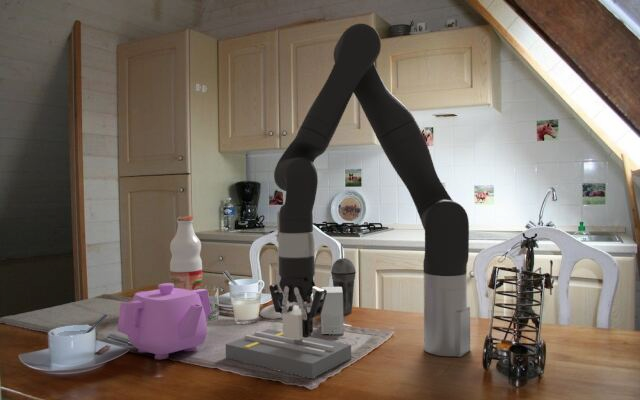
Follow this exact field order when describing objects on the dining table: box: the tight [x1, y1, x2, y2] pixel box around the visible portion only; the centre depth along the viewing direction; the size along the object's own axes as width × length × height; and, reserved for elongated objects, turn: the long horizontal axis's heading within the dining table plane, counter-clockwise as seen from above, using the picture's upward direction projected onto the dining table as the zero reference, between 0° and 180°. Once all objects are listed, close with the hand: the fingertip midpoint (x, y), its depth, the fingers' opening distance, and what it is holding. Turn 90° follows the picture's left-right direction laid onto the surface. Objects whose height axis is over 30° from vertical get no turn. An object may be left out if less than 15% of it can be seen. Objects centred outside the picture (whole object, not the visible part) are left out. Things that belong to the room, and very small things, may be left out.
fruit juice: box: [169, 215, 203, 291], centre depth 159 cm, size 9×9×28 cm
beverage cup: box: [330, 243, 357, 315], centre depth 153 cm, size 7×7×20 cm
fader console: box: [225, 328, 352, 379], centre depth 113 cm, size 23×14×4 cm, turn 55°
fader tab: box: [282, 309, 314, 346], centre depth 111 cm, size 4×5×7 cm
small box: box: [320, 286, 345, 336], centre depth 134 cm, size 8×6×10 cm
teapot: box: [116, 282, 212, 360], centre depth 120 cm, size 19×18×15 cm
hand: (298, 334), depth 111 cm, fingers closed on fader tab, 4 cm apart
